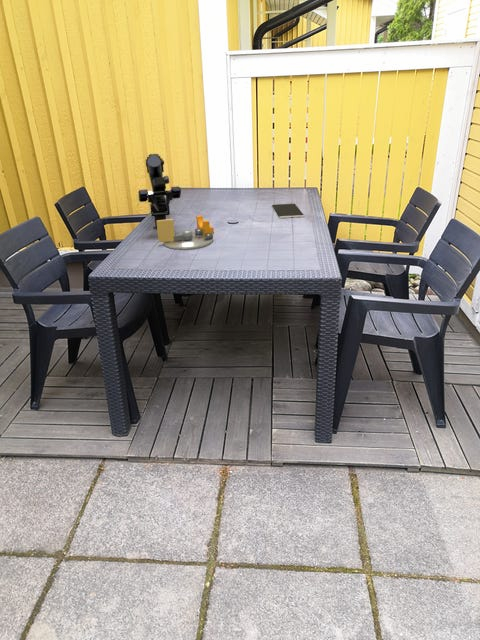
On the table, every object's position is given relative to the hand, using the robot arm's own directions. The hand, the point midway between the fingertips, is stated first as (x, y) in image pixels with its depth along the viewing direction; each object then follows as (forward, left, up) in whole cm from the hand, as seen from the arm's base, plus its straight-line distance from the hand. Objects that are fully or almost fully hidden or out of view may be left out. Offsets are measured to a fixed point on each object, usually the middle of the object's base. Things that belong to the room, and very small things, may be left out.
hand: (163, 210), depth 213 cm
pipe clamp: (-16, +13, -14) cm, 25 cm away
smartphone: (-60, +43, -14) cm, 75 cm away
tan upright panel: (+4, +7, -12) cm, 15 cm away
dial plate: (+1, +11, -14) cm, 18 cm away
